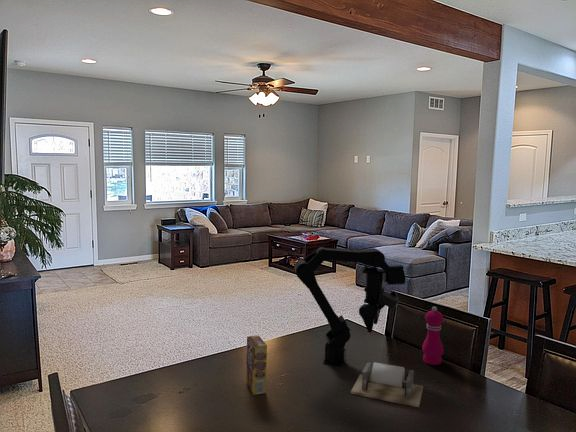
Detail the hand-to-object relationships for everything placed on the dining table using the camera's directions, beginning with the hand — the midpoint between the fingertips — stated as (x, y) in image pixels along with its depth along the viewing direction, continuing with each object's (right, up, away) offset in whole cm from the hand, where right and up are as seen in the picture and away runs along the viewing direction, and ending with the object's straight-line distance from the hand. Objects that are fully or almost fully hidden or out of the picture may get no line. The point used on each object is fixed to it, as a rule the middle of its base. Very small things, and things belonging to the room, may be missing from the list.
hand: (372, 328), depth 158 cm
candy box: (-40, -14, -19) cm, 46 cm away
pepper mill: (+21, -12, +1) cm, 25 cm away
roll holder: (+1, -14, -20) cm, 25 cm away
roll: (+1, -12, -21) cm, 24 cm away
